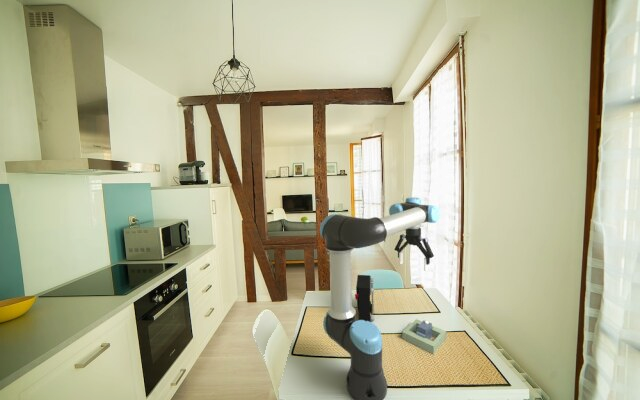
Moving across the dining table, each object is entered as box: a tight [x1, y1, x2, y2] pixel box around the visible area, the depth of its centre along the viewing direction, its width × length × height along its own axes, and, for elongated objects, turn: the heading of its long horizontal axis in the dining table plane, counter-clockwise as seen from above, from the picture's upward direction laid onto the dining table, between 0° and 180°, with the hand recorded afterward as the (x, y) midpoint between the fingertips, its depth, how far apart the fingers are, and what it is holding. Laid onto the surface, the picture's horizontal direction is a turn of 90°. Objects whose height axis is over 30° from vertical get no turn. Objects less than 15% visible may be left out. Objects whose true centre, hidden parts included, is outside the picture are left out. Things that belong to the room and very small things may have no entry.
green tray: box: [401, 318, 447, 355], centre depth 119 cm, size 15×15×4 cm
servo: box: [415, 320, 433, 340], centre depth 119 cm, size 10×4×8 cm, turn 133°
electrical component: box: [354, 274, 375, 323], centre depth 141 cm, size 18×10×20 cm, turn 168°
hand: (413, 266), depth 128 cm, fingers open, 13 cm apart
